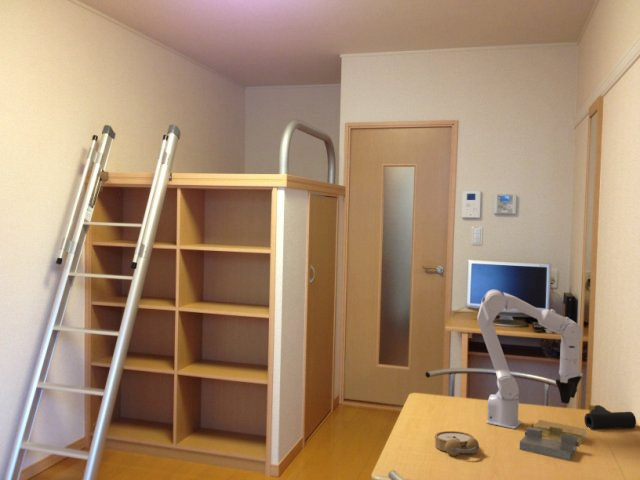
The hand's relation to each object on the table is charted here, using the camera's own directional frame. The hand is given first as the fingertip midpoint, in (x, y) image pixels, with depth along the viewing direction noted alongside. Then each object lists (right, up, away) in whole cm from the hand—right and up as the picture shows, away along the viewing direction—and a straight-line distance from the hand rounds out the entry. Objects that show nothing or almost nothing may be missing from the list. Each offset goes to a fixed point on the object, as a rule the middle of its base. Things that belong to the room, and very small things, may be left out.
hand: (568, 400), depth 198 cm
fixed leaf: (-13, -10, -18) cm, 24 cm away
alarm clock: (-40, -10, -19) cm, 45 cm away
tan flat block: (-6, -10, -7) cm, 13 cm away
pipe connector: (+14, -10, +6) cm, 18 cm away
